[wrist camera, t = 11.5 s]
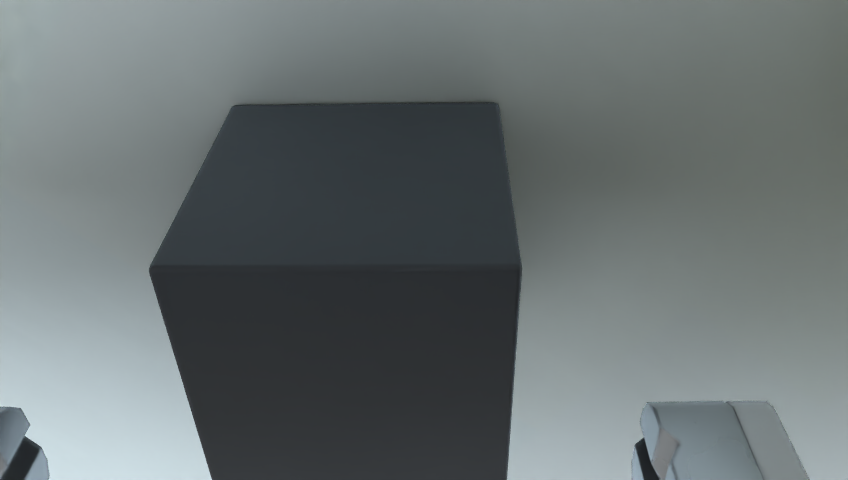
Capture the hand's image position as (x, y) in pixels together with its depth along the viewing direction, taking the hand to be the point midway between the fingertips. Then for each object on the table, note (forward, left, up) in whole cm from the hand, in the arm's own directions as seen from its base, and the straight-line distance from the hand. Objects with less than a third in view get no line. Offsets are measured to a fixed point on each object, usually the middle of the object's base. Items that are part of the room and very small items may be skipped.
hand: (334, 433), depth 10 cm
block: (0, 0, -5) cm, 5 cm away
